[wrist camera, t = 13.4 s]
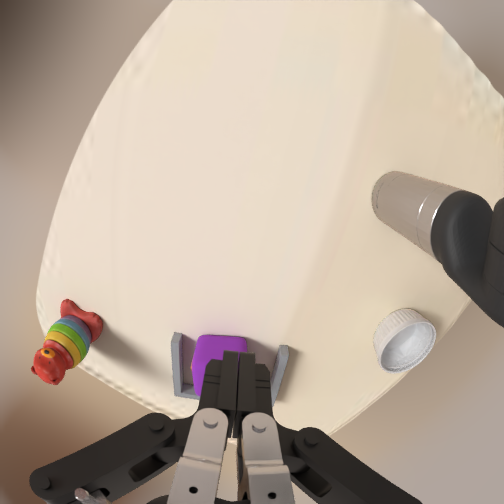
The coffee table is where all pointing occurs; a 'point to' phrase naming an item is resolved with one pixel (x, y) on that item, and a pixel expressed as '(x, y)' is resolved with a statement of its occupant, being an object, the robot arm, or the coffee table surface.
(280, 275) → the coffee table surface
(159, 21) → the coffee table surface
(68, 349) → the stacking bear
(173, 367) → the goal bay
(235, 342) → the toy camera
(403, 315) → the ramekin
